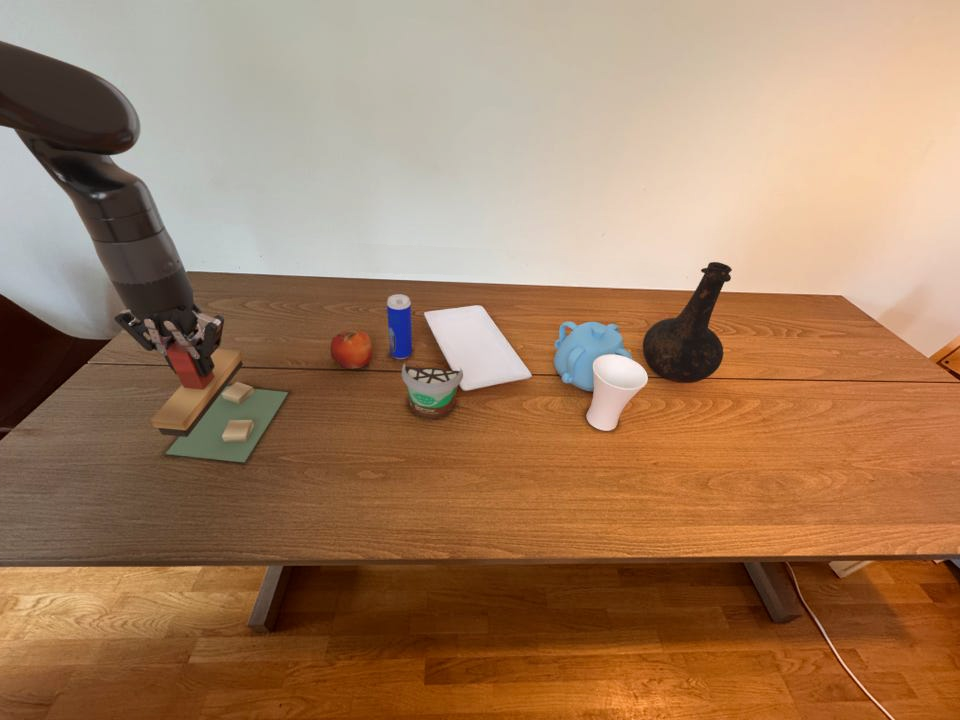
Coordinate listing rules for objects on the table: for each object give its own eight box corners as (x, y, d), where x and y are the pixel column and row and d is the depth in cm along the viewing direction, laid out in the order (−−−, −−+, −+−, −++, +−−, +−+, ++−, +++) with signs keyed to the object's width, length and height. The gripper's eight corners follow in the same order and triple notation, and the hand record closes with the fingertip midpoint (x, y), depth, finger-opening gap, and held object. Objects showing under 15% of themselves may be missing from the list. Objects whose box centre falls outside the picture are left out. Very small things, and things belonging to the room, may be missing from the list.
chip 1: (240, 405, 84) (237, 399, 83) (223, 399, 85) (221, 393, 84) (254, 392, 87) (252, 386, 86) (238, 387, 88) (236, 381, 87)
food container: (397, 420, 84) (395, 383, 78) (403, 398, 89) (401, 362, 83) (459, 425, 84) (461, 388, 78) (461, 403, 89) (463, 367, 83)
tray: (480, 313, 117) (481, 303, 115) (531, 386, 95) (534, 375, 93) (422, 322, 112) (421, 311, 110) (461, 402, 90) (462, 390, 87)
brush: (190, 437, 59) (161, 385, 53) (159, 434, 59) (126, 382, 53) (245, 364, 72) (227, 315, 65) (219, 362, 71) (199, 313, 65)
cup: (627, 409, 92) (648, 362, 83) (625, 444, 84) (648, 395, 76) (580, 396, 94) (595, 348, 85) (573, 429, 86) (589, 380, 78)
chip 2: (247, 441, 77) (245, 435, 76) (224, 442, 76) (221, 436, 75) (254, 425, 80) (252, 419, 79) (231, 425, 79) (229, 420, 78)
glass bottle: (667, 400, 95) (721, 292, 78) (621, 353, 108) (658, 251, 91) (725, 386, 101) (788, 282, 83) (675, 343, 114) (720, 245, 96)
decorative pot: (550, 350, 107) (560, 304, 98) (613, 357, 106) (629, 312, 98) (552, 393, 94) (564, 344, 86) (624, 402, 94) (643, 354, 85)
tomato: (380, 367, 96) (377, 339, 91) (340, 380, 92) (335, 351, 87) (365, 346, 102) (362, 318, 97) (327, 356, 98) (322, 328, 93)
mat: (244, 462, 74) (244, 462, 73) (165, 454, 74) (165, 453, 74) (288, 392, 88) (288, 392, 88) (222, 385, 88) (221, 385, 88)
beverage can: (388, 348, 102) (385, 294, 93) (410, 345, 103) (408, 292, 94) (392, 361, 98) (388, 306, 89) (413, 358, 100) (412, 304, 90)
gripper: (219, 258, 54) (254, 360, 65) (110, 247, 54) (163, 351, 65) (184, 287, 48) (229, 394, 59) (62, 274, 48) (129, 384, 59)
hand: (194, 371), depth 62 cm, fingers closed on brush, 3 cm apart
